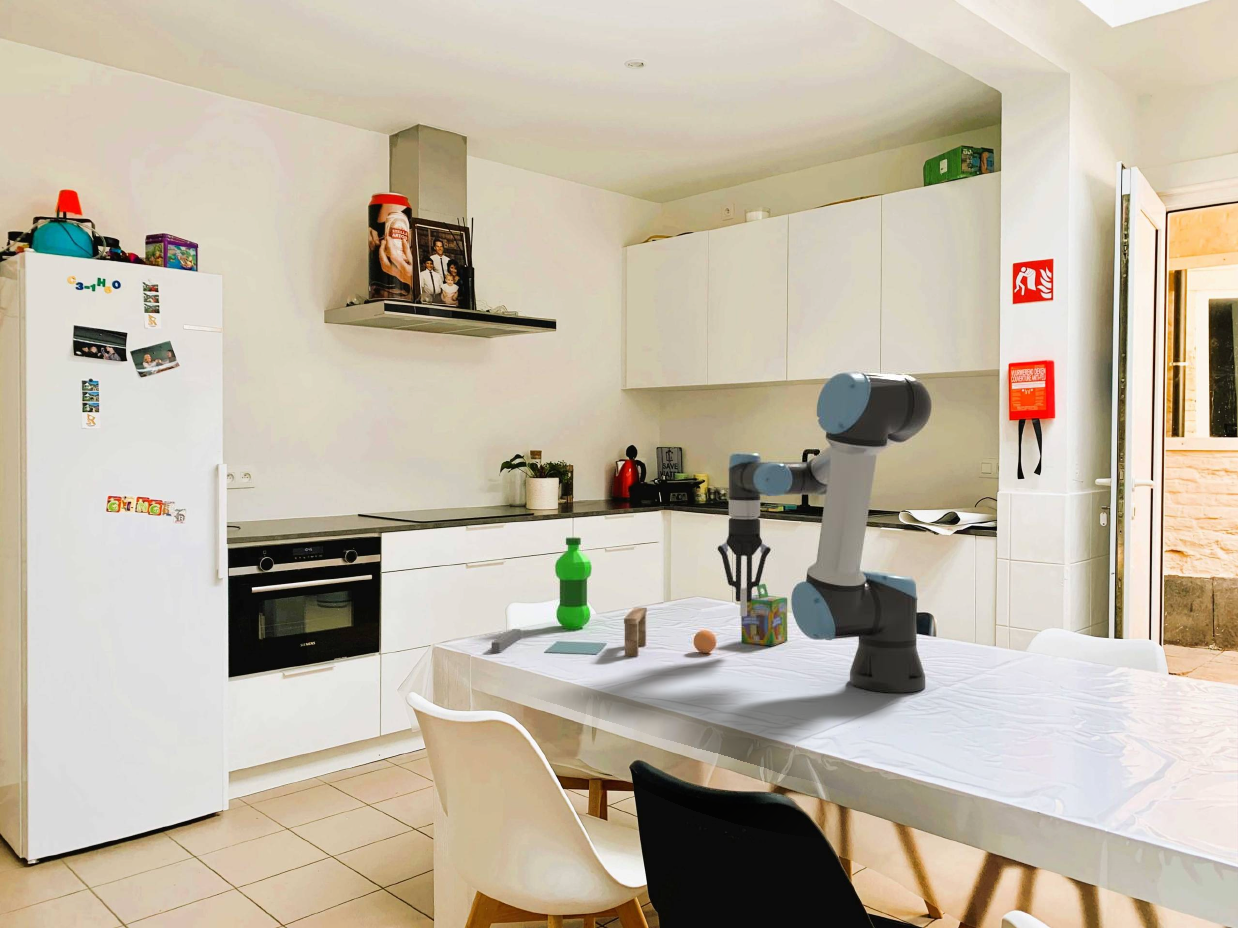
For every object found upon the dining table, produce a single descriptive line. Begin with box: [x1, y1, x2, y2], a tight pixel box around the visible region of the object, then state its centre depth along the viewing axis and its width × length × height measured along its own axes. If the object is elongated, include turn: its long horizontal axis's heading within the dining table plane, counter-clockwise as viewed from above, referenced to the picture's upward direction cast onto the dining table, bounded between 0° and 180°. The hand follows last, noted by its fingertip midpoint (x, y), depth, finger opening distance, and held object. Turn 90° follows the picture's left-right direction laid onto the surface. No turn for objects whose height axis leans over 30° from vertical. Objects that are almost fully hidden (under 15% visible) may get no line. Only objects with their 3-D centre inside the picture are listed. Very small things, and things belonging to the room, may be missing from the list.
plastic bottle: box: [554, 537, 592, 630], centre depth 253 cm, size 10×10×25 cm
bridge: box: [623, 607, 648, 658], centre depth 222 cm, size 3×16×9 cm, turn 170°
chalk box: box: [740, 583, 788, 647], centre depth 233 cm, size 9×9×15 cm
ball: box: [693, 629, 717, 654], centre depth 219 cm, size 6×6×6 cm
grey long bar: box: [491, 628, 522, 654], centre depth 228 cm, size 18×2×2 cm, turn 170°
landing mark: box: [543, 640, 608, 656], centre depth 225 cm, size 13×13×1 cm
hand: (743, 614), depth 218 cm, fingers closed
